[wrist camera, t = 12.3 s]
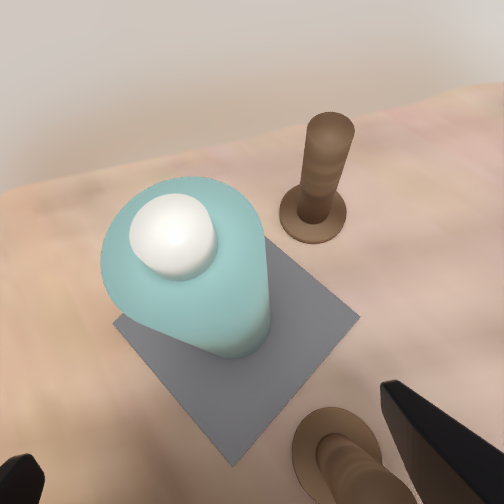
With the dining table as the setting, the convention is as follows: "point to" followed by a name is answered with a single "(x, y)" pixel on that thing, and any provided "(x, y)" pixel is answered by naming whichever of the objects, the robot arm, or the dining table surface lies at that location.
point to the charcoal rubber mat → (249, 358)
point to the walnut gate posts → (333, 419)
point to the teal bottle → (191, 265)
